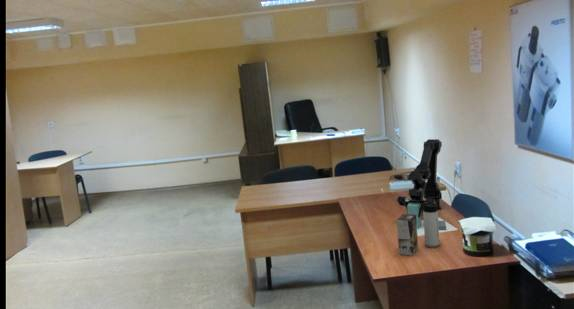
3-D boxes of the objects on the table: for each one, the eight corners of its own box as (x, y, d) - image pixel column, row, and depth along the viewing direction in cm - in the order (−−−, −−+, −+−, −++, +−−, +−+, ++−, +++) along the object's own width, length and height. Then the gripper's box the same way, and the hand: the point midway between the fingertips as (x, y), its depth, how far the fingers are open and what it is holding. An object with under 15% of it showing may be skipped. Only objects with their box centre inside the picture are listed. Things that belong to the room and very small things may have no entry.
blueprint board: (439, 218, 245) (439, 217, 245) (458, 231, 225) (458, 229, 225) (397, 225, 242) (397, 223, 242) (413, 238, 222) (413, 236, 222)
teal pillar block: (411, 224, 238) (410, 202, 236) (421, 225, 235) (420, 203, 233) (408, 228, 234) (407, 205, 232) (418, 229, 231) (417, 206, 229)
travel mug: (422, 243, 215) (419, 202, 211) (436, 241, 215) (433, 200, 212) (427, 248, 209) (425, 206, 205) (441, 246, 209) (439, 204, 206)
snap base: (428, 224, 236) (428, 220, 235) (445, 224, 234) (444, 220, 233) (429, 230, 228) (428, 226, 228) (446, 230, 226) (446, 226, 226)
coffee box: (412, 255, 203) (410, 220, 200) (398, 254, 207) (396, 219, 204) (418, 248, 211) (416, 214, 208) (404, 246, 214) (402, 213, 211)
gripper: (397, 181, 239) (390, 208, 232) (433, 182, 229) (428, 211, 222) (402, 191, 247) (397, 218, 240) (438, 193, 237) (433, 221, 230)
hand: (413, 217), depth 232 cm, fingers closed on teal pillar block, 5 cm apart
